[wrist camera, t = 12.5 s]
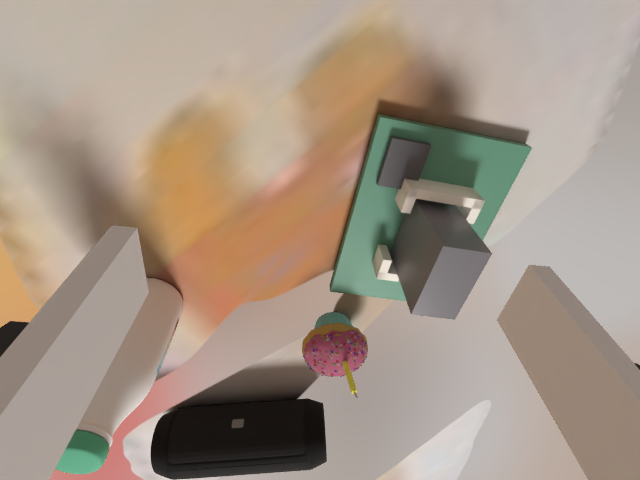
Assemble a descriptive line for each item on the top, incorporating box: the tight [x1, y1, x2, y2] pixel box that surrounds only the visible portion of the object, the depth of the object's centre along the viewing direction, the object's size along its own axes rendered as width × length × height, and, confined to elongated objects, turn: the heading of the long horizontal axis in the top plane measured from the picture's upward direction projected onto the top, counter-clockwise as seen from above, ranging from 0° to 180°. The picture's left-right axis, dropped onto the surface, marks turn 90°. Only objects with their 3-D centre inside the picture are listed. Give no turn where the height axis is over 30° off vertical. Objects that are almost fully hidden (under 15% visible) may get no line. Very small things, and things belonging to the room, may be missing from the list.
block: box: [390, 199, 492, 319], centre depth 37 cm, size 9×4×10 cm, turn 168°
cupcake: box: [302, 312, 368, 398], centre depth 46 cm, size 9×8×12 cm
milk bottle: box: [55, 278, 183, 474], centre depth 38 cm, size 8×8×20 cm
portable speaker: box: [151, 399, 327, 480], centre depth 57 cm, size 26×10×10 cm, turn 93°
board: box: [330, 114, 532, 301], centre depth 40 cm, size 22×16×4 cm
